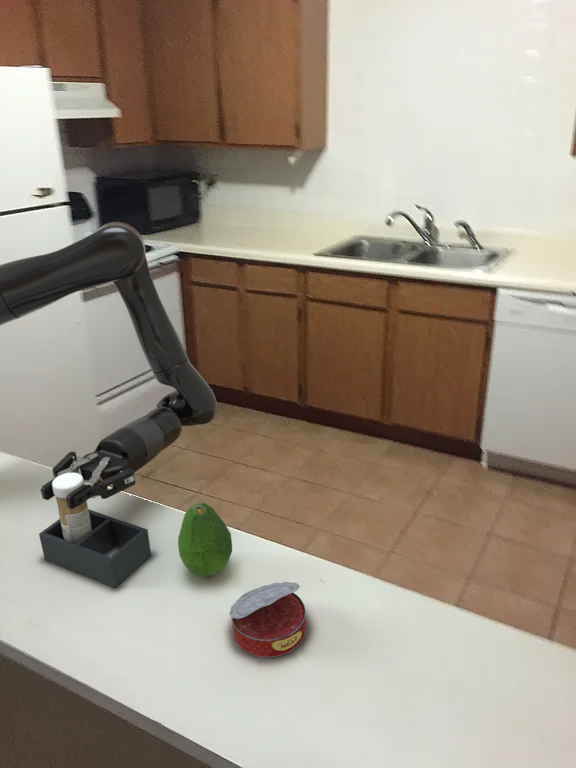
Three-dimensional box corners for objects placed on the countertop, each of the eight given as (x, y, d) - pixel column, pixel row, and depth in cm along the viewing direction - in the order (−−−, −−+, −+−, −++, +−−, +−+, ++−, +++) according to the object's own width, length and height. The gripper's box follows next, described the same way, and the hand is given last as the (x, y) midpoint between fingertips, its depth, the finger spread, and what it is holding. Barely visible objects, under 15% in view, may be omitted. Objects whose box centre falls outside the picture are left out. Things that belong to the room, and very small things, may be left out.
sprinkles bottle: (66, 546, 107) (51, 474, 102) (95, 539, 109) (82, 468, 103) (67, 563, 103) (51, 490, 98) (97, 556, 105) (83, 484, 99)
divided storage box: (44, 559, 104) (38, 533, 102) (82, 530, 111) (77, 505, 109) (115, 588, 98) (110, 561, 96) (151, 555, 105) (147, 529, 103)
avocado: (171, 580, 99) (162, 513, 94) (199, 549, 106) (192, 485, 101) (218, 595, 96) (211, 527, 91) (244, 562, 102) (239, 496, 97)
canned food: (247, 680, 88) (206, 635, 83) (254, 618, 96) (216, 574, 92) (323, 655, 85) (284, 606, 80) (323, 592, 93) (287, 546, 89)
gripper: (96, 419, 114) (17, 466, 101) (163, 436, 108) (87, 489, 94) (103, 456, 117) (26, 508, 104) (168, 475, 111) (95, 532, 97)
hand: (56, 498), depth 99 cm, fingers closed on sprinkles bottle, 4 cm apart
